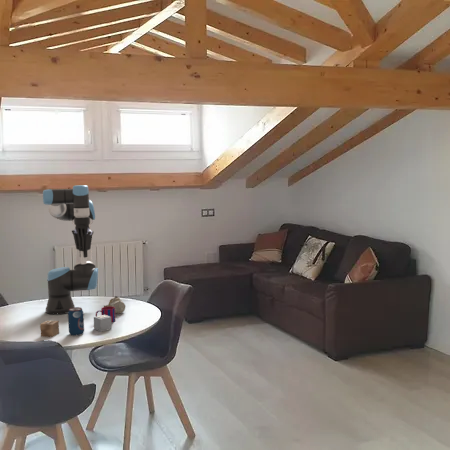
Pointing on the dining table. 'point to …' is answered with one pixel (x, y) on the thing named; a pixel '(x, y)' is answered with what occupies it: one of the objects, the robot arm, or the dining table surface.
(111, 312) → the mug
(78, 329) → the soda can
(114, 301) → the ceramic sculpture
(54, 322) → the walnut numbered block
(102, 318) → the slate numbered block
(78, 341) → the dining table surface
